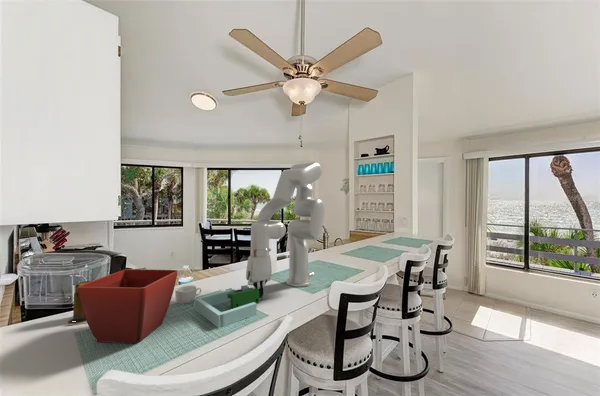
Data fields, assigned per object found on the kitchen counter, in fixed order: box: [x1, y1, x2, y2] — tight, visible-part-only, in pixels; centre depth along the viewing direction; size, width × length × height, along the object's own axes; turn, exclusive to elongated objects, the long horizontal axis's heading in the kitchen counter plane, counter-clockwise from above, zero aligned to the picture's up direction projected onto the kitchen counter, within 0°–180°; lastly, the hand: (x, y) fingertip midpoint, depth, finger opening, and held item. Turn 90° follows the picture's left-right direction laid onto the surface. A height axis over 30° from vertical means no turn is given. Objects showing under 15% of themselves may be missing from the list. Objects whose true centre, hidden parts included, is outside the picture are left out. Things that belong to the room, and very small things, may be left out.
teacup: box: [174, 284, 202, 305], centre depth 104 cm, size 10×8×5 cm
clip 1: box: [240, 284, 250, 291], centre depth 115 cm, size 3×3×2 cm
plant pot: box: [78, 268, 178, 344], centre depth 79 cm, size 19×19×17 cm
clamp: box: [227, 287, 261, 309], centre depth 100 cm, size 12×6×9 cm, turn 122°
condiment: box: [64, 280, 92, 327], centre depth 87 cm, size 7×8×12 cm
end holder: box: [193, 289, 258, 329], centre depth 94 cm, size 14×20×4 cm
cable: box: [235, 286, 254, 292], centre depth 108 cm, size 25×5×1 cm, turn 134°
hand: (259, 297), depth 106 cm, fingers closed
